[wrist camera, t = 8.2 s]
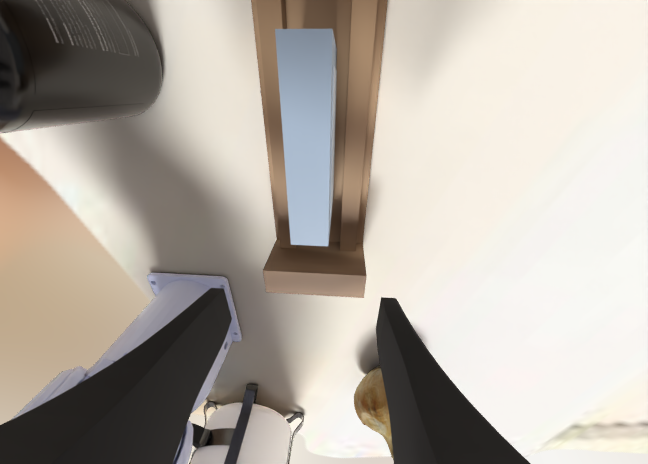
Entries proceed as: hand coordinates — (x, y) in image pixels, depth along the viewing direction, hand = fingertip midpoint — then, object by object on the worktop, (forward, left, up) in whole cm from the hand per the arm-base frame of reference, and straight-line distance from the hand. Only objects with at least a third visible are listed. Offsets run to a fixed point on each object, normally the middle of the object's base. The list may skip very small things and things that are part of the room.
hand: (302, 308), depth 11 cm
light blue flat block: (+6, 0, -9) cm, 11 cm away
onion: (-21, -8, -10) cm, 25 cm away
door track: (+6, 0, -10) cm, 12 cm away
